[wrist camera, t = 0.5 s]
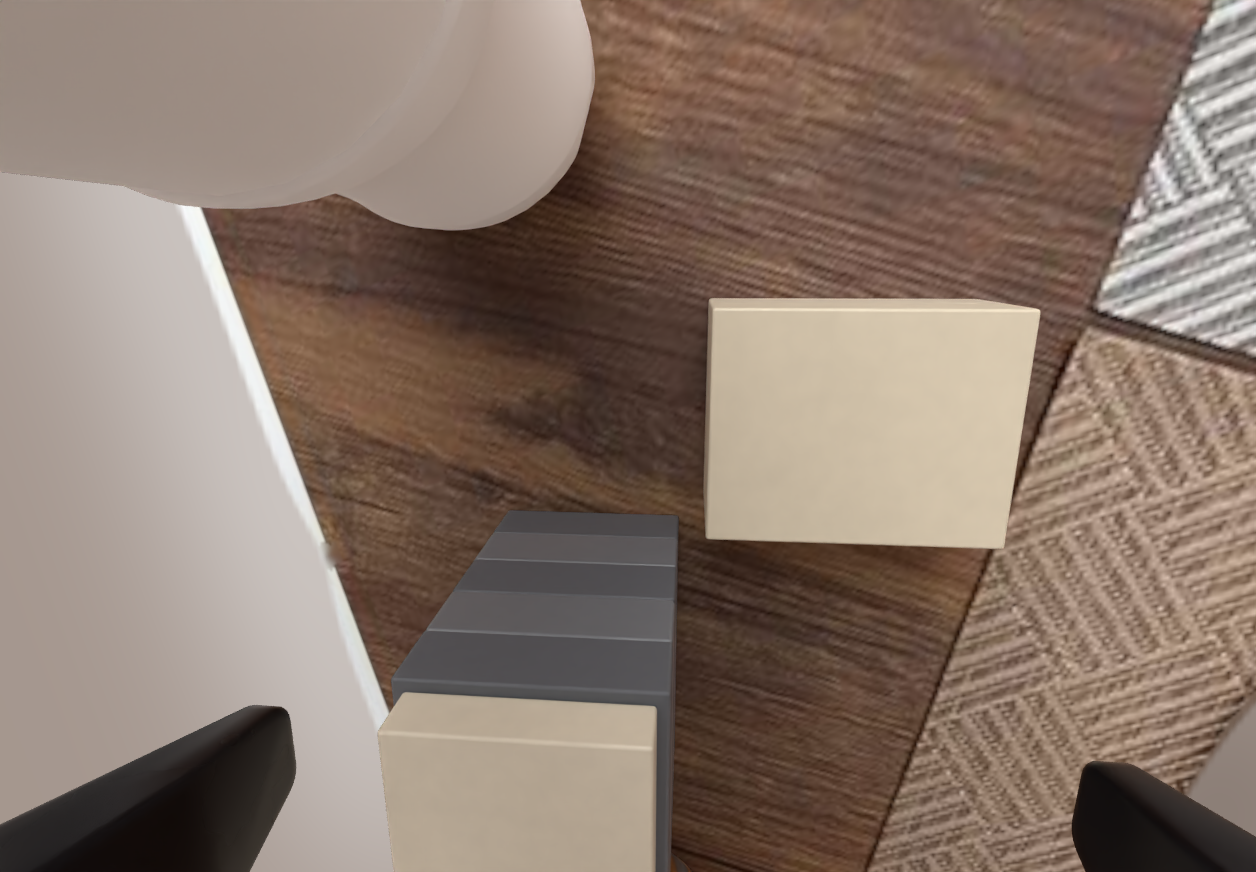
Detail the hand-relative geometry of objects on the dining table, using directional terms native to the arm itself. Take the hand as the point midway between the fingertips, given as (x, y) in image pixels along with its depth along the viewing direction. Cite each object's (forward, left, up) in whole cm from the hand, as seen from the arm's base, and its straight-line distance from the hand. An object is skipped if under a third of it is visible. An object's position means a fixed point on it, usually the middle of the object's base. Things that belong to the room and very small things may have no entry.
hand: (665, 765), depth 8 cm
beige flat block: (-7, +3, -5) cm, 9 cm away
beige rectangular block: (+1, -5, -14) cm, 14 cm away
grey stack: (-7, +3, -14) cm, 15 cm away
